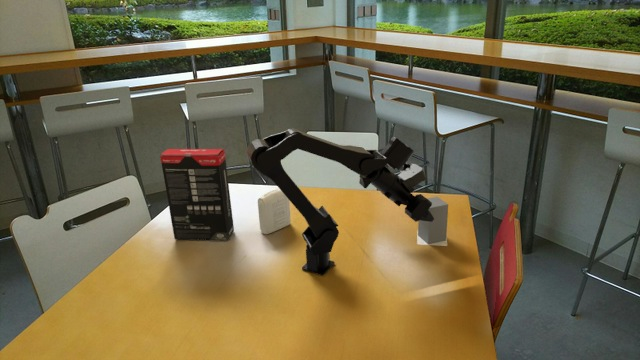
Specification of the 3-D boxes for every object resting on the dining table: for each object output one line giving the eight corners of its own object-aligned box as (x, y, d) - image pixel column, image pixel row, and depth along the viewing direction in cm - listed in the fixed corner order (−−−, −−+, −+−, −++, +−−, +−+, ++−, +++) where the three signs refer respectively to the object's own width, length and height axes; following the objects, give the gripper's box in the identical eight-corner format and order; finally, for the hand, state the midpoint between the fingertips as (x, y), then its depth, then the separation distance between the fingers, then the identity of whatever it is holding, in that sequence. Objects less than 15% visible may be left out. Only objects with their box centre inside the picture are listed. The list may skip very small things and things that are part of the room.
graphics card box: (236, 231, 145) (225, 146, 135) (230, 242, 139) (218, 154, 129) (182, 231, 147) (167, 146, 137) (173, 242, 141) (157, 154, 131)
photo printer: (284, 220, 151) (281, 184, 147) (293, 224, 148) (290, 187, 144) (258, 231, 145) (254, 194, 140) (267, 236, 142) (263, 198, 137)
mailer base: (447, 250, 129) (448, 234, 128) (417, 249, 131) (417, 232, 129) (445, 236, 137) (446, 220, 135) (417, 235, 138) (417, 219, 136)
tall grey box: (428, 244, 130) (429, 207, 126) (417, 235, 135) (419, 199, 131) (446, 240, 132) (448, 204, 127) (435, 231, 137) (437, 196, 132)
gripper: (425, 169, 113) (463, 203, 121) (390, 147, 130) (425, 178, 137) (395, 205, 114) (434, 237, 121) (364, 179, 131) (400, 208, 138)
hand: (424, 213), depth 129 cm, fingers open, 9 cm apart
